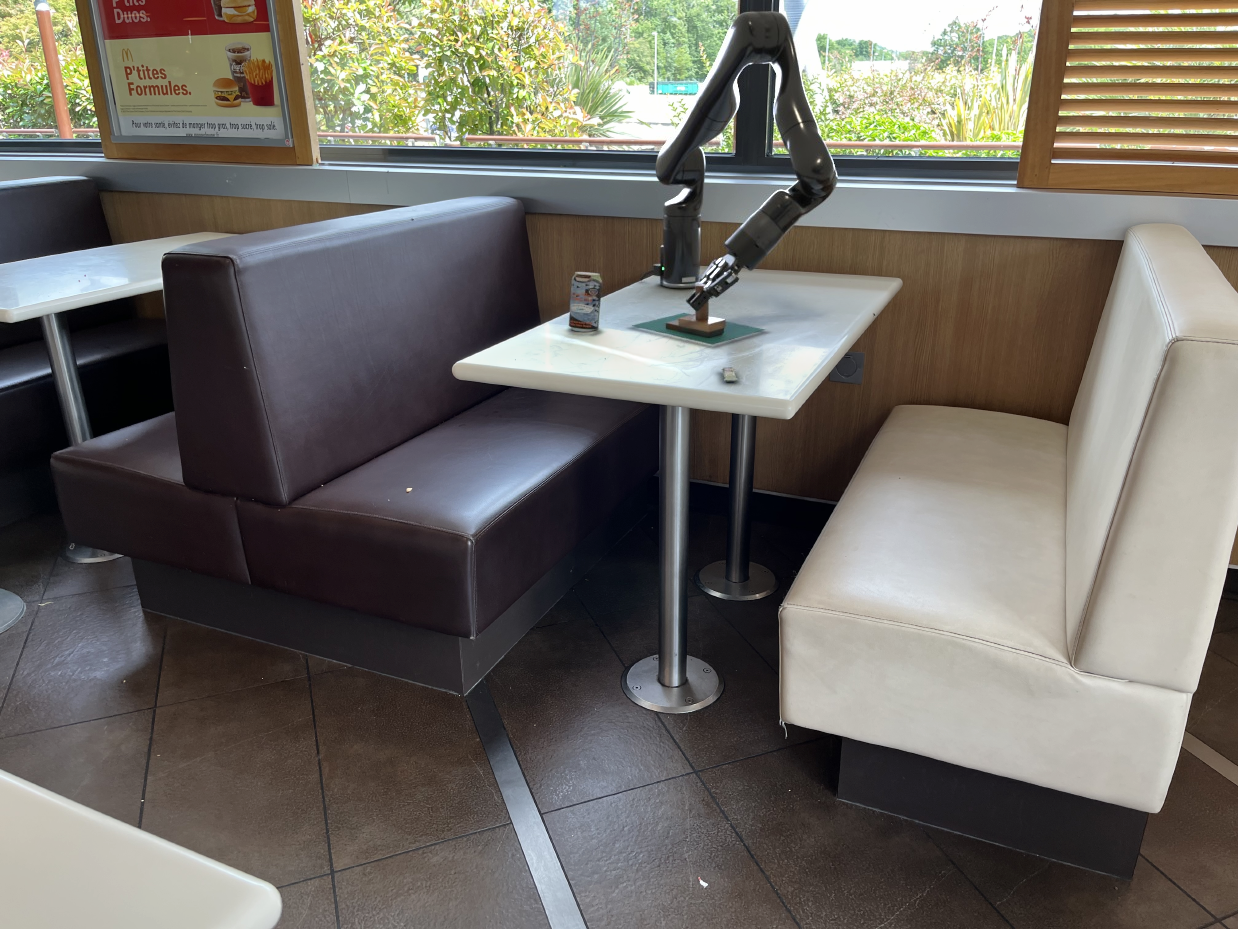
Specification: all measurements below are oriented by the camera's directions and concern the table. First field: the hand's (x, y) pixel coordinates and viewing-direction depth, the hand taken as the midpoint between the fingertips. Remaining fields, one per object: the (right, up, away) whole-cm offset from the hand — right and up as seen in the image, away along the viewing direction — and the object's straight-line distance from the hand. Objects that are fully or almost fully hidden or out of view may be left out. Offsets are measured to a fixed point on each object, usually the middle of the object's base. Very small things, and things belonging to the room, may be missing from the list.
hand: (691, 306), depth 174 cm
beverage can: (-21, -4, +8) cm, 23 cm away
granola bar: (+4, -16, -24) cm, 29 cm away
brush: (+2, -5, +2) cm, 6 cm away
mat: (+2, -4, +7) cm, 8 cm away
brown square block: (-2, -3, +6) cm, 7 cm away
